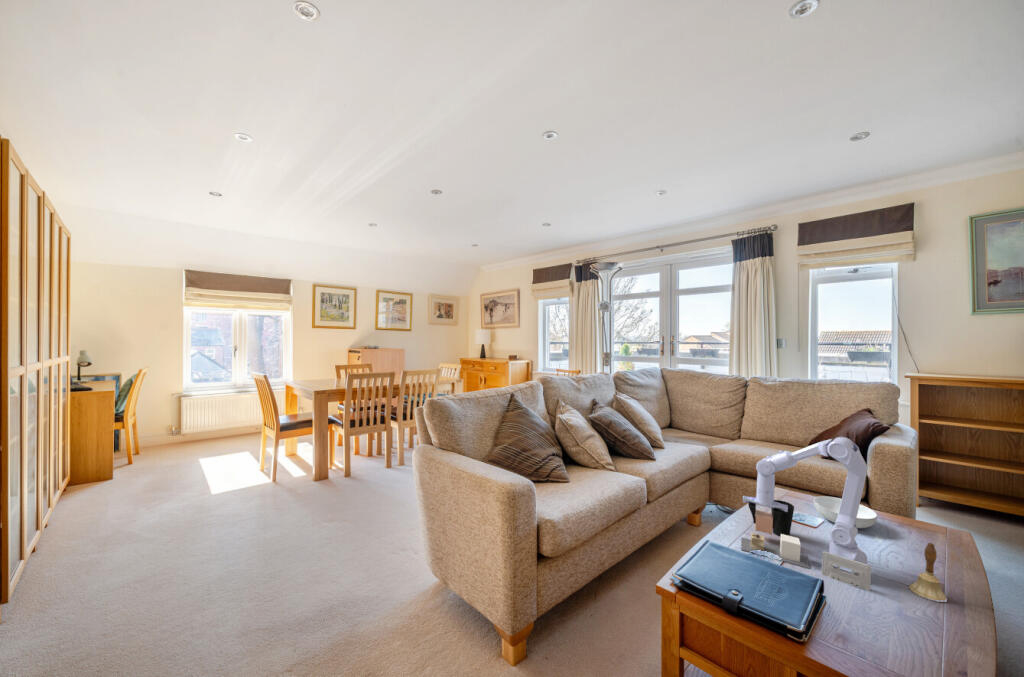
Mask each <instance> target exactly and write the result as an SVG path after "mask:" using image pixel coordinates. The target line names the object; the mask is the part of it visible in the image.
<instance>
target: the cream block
mask: <svg viewBox="0 0 1024 677" xmlns="http://www.w3.org/2000/svg"><path fill="white" fill-rule="evenodd" d="M779 539H780V542H779V547H780V554H781V557H783V558H787V559H790V560H794V561H798V562H800V553H801V541H800V538H799V537H796V536H792V535H790V536H788V535H784V534H781V537H780V536H779Z"/></svg>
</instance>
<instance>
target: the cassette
mask: <svg viewBox="0 0 1024 677" xmlns="http://www.w3.org/2000/svg"><path fill="white" fill-rule="evenodd" d="M834 565H837V566H838V567H835V566H834ZM840 566H841V567H844V568H847V569H851V570H852V572H849V571H846V570H843V569H840ZM855 572H858V574H856V573H855ZM821 574H822V576H825V577H828V579H829V578H830V579H833V580H835V581H838V582H841V583H844V584H847V585H851V586H853V587H855V588H859V589H863V590H865V591H866V590H867V591H868V592H869V591H871V584H872V583H871V576H872V565H870V564H868V563H867V564H864V563H860V562H857V561H854V560H851V559H847V558H844V557H841V556H838V555H835V554H831V553H829V551H824V550H823V552H822V561H821Z"/></svg>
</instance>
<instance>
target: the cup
mask: <svg viewBox="0 0 1024 677" xmlns="http://www.w3.org/2000/svg"><path fill="white" fill-rule="evenodd" d="M774 501H775V502H778V503H781V504H784V505H787V506H788V512H785V511H783V510H781V512H782V513H781V515H780V516H779V518H778V519H777V521H776V523H775V526H774V528H772V534H773V535H776V536H778V537H779V538H780V537H781V534H784V535H788V536H791V534H790V533H791V530H792V525H793V517H794V513H795V506H794V505H793V504H792V503H790V502H787V501H785V500H779V499H774ZM770 510H771V513H772V516H773V508H770Z"/></svg>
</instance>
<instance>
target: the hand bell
mask: <svg viewBox="0 0 1024 677" xmlns="http://www.w3.org/2000/svg"><path fill="white" fill-rule="evenodd" d="M923 554H924V559H925V563H926V564H925V572H920V573H919V574H918V577H917V580H916V581H915V582H914V583H911V584H910V585H909V586H908V588H909V590H910V591H911V592H912V593H914V594H915V595H917V596H919V597H920V596H921V597H920V598H923V597H925V598H928V599H933V600H945V599H946V597H947V596H946V594H944V592H943V590H942V588H941V581H940V579H939V578H938V577H936V576H934V575H935V574H934V567H935V566H934V565H935V563H936V561H937V558H938V557H937V554H938V553H937V550H936V548H935V544H934V543H932V542H928V543H927V545H926V546H925V548H924V553H923ZM925 598H924V599H925Z"/></svg>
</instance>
